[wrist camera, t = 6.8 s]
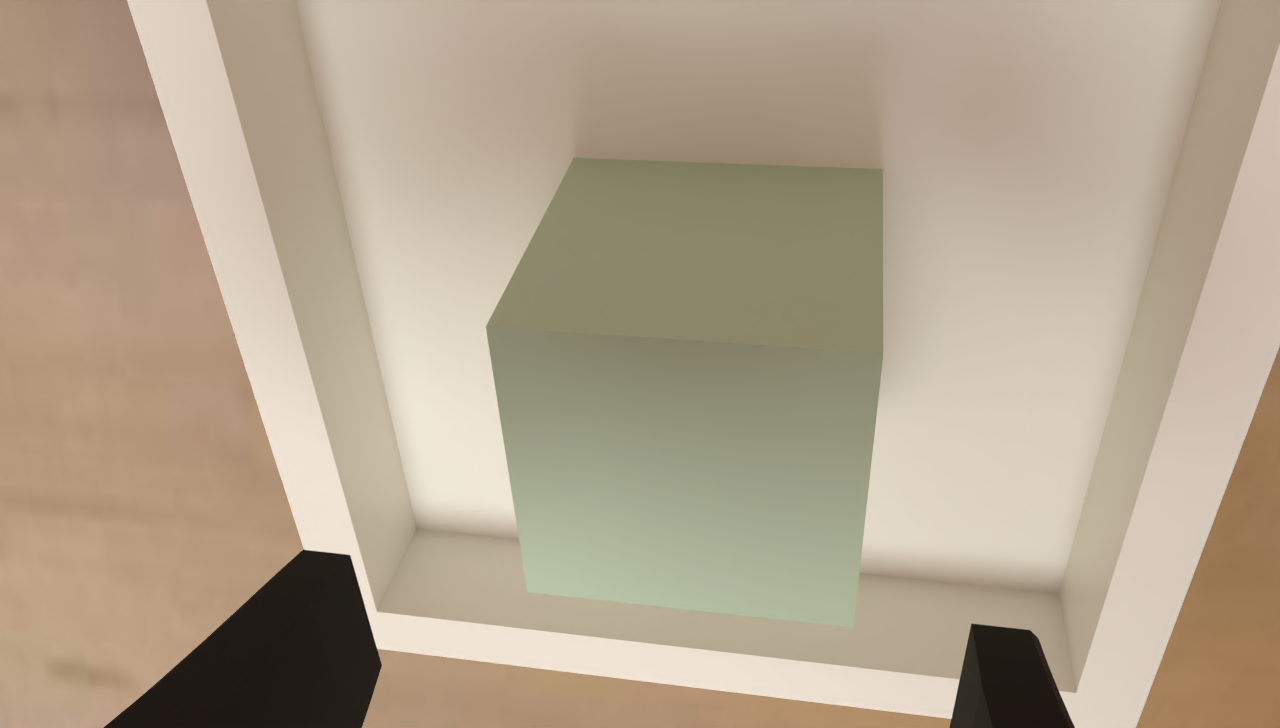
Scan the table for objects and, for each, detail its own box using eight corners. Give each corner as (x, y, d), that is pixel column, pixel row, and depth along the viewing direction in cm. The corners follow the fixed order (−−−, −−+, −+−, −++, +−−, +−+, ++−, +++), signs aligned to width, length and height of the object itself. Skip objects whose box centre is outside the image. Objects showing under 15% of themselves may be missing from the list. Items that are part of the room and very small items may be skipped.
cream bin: (1381, -258, 13) (1492, -220, 11) (1104, 617, 23) (1130, 740, 20) (187, -229, 16) (65, -192, 13) (386, 542, 25) (334, 643, 23)
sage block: (882, 168, 17) (882, 353, 13) (858, 416, 20) (852, 627, 16) (573, 157, 18) (485, 326, 14) (594, 396, 21) (527, 592, 17)
